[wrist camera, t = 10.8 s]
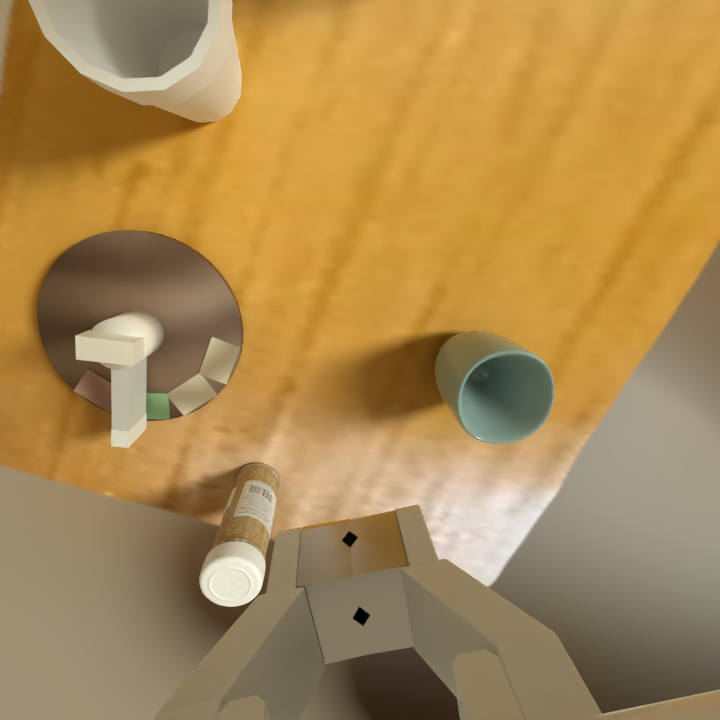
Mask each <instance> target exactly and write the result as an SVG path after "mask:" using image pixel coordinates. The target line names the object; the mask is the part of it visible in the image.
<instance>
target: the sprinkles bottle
mask: <svg viewBox="0 0 720 720" xmlns="http://www.w3.org/2000/svg"><path fill="white" fill-rule="evenodd" d="M279 487H280V479H279V476H278V474H277V472H276V471H275V470H274V469H273V468H272V467H270V466H268V465H266V464H263V463H253V464H249V465H246V466H244V467H243V468H242V469H241V470H240V471H239V473H238V474H237V476H236V479H235V485H234V488H233V491H232V492H231V494H230V497H229V500H228V502H227V505H226V508H225V511H224V514H223V519H222V522H221V524H220V528H219V530H218V533H217V536H216V538H215V542H214V545H213V547H212V550H211V551H210V552H209V554H208V555H207V557H206V559H205V562H204V565H203V568H202V570H201V574H200V587H201V590H202V592H203V594H204V595H205V596H206V597H207V598H208V599H209V600H211V601H212V602H214V603H216V604H218V605H222V606H230V607H231V606H240V605H243V604H245V603H248V602H249V601H251V600H252V599H254V598H255V597H256V596H257V594H258V593H259V591H260V590H261V587H262V583H263V579H264V573H265V556H266V550H267V545H268V542H269V539H270V533H271V528H272V522H273V517H274V512H275V506H276V497H277V492H278V490H279Z"/></svg>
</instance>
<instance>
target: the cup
mask: <svg viewBox="0 0 720 720" xmlns="http://www.w3.org/2000/svg"><path fill="white" fill-rule="evenodd" d="M435 380H436V384H437V387H438V390H439V392H440V395H441V397H442V398H443V400H444V402H445V404H446V406H447V407H448V409H449V410H450V412H451V413H452V415H453V416H454V418H455V419H456V421H457V422H458V423H459V424H460V426H461V427H462V428H463V429H464V430H465V431H466V432H467V433H468V434H469V435H471V436H472V437H474V438H475V439H477V440H480V441H482V442H486V443H492V444H505V443H511V442H515V441H519V440H522V439H524V438H526V437H528V436H530V435H532V434H533V433H534V432H536V431H537V430H538V429H539V428H540V427H541V426H542V425H543V424H544V422H545V421H546V419H547V417H548V416H549V414H550V411H551V408H552V405H553V400H554V389H555V386H554V380H553V376H552V373H551V371H550V369H549V367H548V366H547V365H546V363H545V362H544V361H543V360H542V359H541V358H540V357H539V356H537V355H536V354H535V353H533V352H532V351H530V350H528V349H527V348H525V347H523V346H521V345H520V344H518V343H516V342H514V341H512V340H510V339H508V338H505V337H503V336H501V335H498V334H495V333H491V332H486V331H466V332H462V333H459V334H456V335H454V336H453V337H451V338H449V339H448V340H447V341H446V342H445V343H444V344H443V345H442V346H441V348H440V350H439V352H438V354H437V358H436V361H435Z"/></svg>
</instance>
